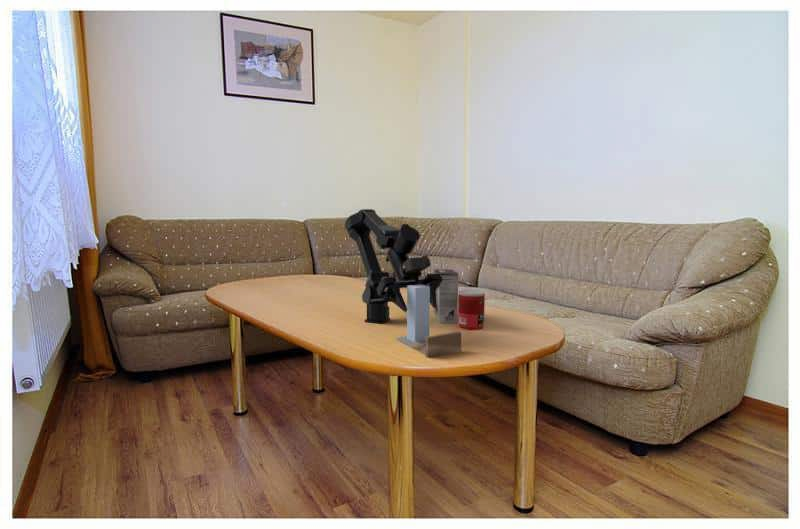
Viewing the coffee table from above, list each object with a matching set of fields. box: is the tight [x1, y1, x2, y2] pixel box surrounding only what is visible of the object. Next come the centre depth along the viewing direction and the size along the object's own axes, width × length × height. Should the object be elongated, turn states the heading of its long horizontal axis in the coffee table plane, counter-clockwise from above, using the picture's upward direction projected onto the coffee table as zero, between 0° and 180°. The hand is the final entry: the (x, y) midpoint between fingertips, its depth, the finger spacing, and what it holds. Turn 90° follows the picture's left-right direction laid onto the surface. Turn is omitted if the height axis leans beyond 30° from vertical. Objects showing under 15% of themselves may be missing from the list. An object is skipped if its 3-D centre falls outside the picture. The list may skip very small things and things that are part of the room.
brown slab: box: [411, 331, 462, 358], centre depth 122 cm, size 9×10×5 cm
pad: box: [396, 335, 425, 348], centre depth 130 cm, size 9×9×1 cm
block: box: [406, 284, 431, 342], centre depth 129 cm, size 4×4×15 cm
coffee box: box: [434, 268, 459, 324], centre depth 153 cm, size 9×6×16 cm
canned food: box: [457, 289, 486, 331], centre depth 144 cm, size 8×8×11 cm
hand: (420, 309), depth 127 cm, fingers open, 9 cm apart
